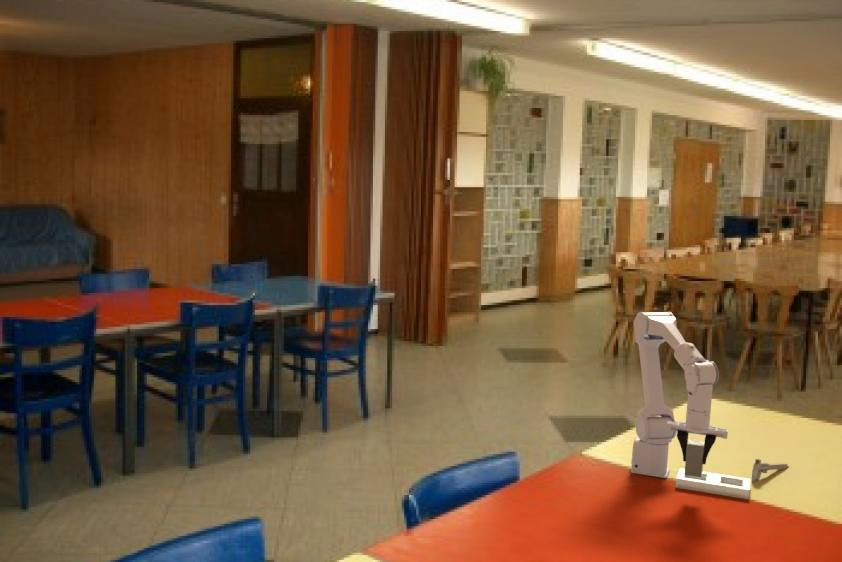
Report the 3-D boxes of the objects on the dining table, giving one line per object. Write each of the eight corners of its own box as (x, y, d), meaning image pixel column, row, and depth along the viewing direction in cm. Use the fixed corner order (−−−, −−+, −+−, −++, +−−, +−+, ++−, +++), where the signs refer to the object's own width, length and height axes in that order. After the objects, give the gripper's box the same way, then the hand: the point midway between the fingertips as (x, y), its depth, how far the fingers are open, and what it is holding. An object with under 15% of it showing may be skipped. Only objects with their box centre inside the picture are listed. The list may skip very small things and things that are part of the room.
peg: (684, 474, 221) (686, 443, 220) (686, 469, 225) (688, 439, 224) (701, 477, 220) (703, 446, 219) (702, 472, 224) (704, 441, 223)
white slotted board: (675, 487, 231) (676, 478, 230) (679, 476, 239) (679, 467, 239) (748, 499, 224) (749, 490, 224) (749, 487, 232) (750, 478, 232)
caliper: (755, 483, 237) (757, 461, 236) (751, 482, 237) (753, 460, 237) (789, 467, 250) (791, 446, 250) (785, 466, 251) (787, 445, 250)
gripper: (666, 409, 220) (662, 461, 221) (728, 417, 214) (723, 471, 216) (670, 402, 226) (666, 453, 228) (729, 410, 221) (725, 462, 222)
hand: (694, 461), depth 222 cm, fingers closed on peg, 4 cm apart
